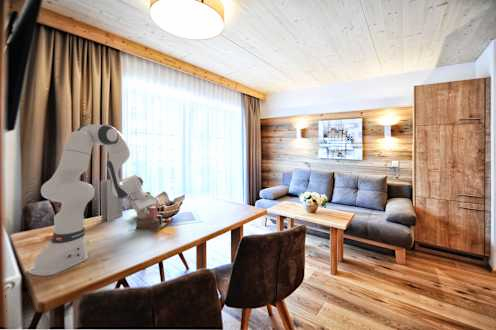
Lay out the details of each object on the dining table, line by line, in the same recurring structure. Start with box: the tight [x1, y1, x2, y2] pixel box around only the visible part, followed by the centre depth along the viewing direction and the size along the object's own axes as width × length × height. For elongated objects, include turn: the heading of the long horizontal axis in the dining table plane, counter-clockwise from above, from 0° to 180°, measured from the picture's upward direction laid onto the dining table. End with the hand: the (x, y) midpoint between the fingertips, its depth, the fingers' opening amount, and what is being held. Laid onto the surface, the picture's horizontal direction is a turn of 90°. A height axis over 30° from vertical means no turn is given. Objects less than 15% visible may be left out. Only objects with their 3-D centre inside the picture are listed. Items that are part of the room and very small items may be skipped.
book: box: [145, 205, 158, 219], centre depth 150 cm, size 4×6×13 cm, turn 81°
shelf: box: [135, 217, 168, 233], centre depth 150 cm, size 12×16×8 cm
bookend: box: [157, 214, 163, 224], centre depth 154 cm, size 1×10×6 cm, turn 80°
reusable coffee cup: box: [136, 210, 146, 218], centre depth 174 cm, size 13×13×15 cm
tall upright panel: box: [100, 178, 124, 223], centre depth 165 cm, size 14×6×30 cm, turn 168°
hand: (152, 212), depth 150 cm, fingers open, 5 cm apart
